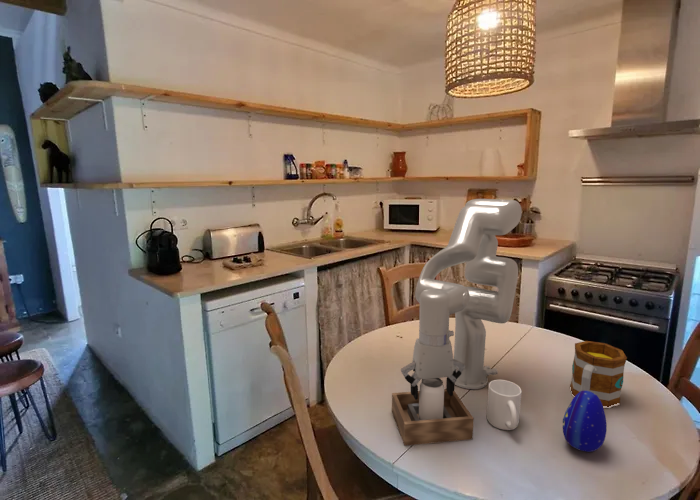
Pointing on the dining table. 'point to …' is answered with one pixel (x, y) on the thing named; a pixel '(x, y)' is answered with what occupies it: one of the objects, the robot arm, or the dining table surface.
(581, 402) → the ornament
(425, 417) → the can
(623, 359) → the mug
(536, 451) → the dining table surface
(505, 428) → the mug
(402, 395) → the bin
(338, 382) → the dining table surface
